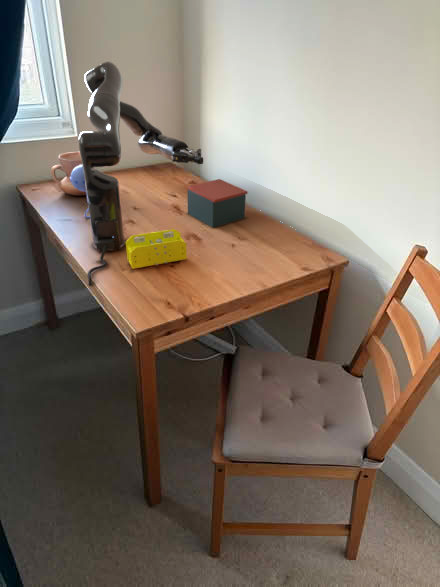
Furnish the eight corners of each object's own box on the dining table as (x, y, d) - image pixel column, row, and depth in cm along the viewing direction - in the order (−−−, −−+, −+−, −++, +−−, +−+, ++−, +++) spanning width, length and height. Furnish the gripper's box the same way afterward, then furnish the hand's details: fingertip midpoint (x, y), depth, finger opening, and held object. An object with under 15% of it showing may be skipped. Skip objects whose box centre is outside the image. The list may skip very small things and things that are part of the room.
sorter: (244, 218, 159) (245, 193, 154) (212, 227, 151) (213, 201, 146) (218, 205, 168) (219, 181, 163) (187, 213, 161) (187, 189, 156)
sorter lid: (247, 193, 153) (247, 191, 153) (214, 202, 146) (214, 199, 145) (219, 181, 163) (219, 178, 163) (187, 189, 156) (187, 186, 155)
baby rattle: (76, 223, 151) (68, 170, 142) (76, 214, 158) (68, 162, 149) (103, 221, 153) (96, 168, 144) (101, 212, 160) (95, 160, 151)
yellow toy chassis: (180, 253, 135) (179, 227, 131) (187, 261, 131) (186, 235, 126) (127, 262, 130) (124, 235, 125) (132, 271, 125) (129, 244, 121)
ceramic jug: (99, 183, 185) (95, 148, 177) (106, 195, 174) (101, 158, 166) (53, 188, 179) (46, 152, 171) (56, 201, 168) (50, 162, 160)
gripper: (157, 141, 162) (185, 153, 151) (188, 136, 169) (216, 147, 158) (158, 162, 166) (185, 175, 155) (188, 156, 173) (216, 168, 162)
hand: (201, 161), depth 156 cm, fingers closed
